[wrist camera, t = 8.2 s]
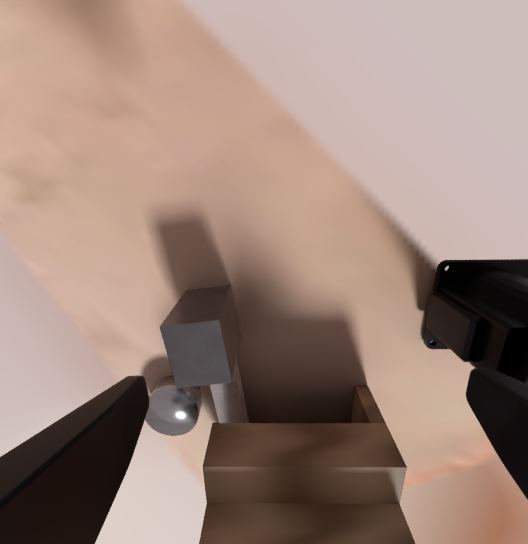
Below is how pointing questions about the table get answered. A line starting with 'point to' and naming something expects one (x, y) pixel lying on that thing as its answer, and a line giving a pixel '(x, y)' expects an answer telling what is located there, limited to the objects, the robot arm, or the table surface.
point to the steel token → (173, 407)
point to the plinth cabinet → (305, 482)
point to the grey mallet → (207, 348)
